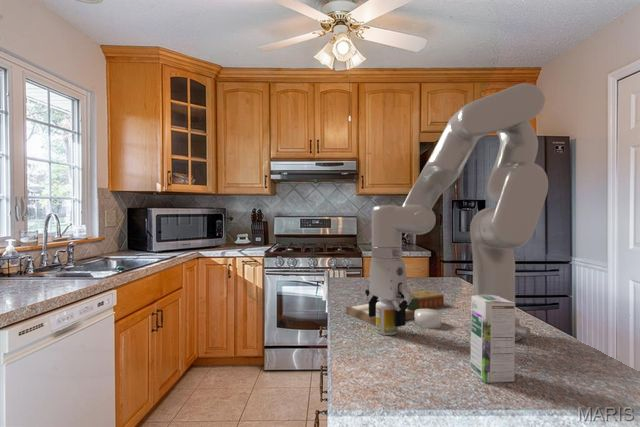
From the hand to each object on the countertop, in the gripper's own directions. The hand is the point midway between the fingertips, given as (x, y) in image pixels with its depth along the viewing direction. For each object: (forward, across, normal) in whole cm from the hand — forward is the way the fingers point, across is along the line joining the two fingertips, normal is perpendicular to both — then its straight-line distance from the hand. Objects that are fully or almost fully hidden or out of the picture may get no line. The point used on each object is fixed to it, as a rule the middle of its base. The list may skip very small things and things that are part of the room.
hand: (386, 320), depth 92 cm
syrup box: (+3, -29, 0) cm, 29 cm away
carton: (+3, +15, -26) cm, 30 cm away
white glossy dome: (+3, -1, -14) cm, 14 cm away
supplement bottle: (+3, 0, 0) cm, 3 cm away
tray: (+3, +12, -8) cm, 15 cm away
